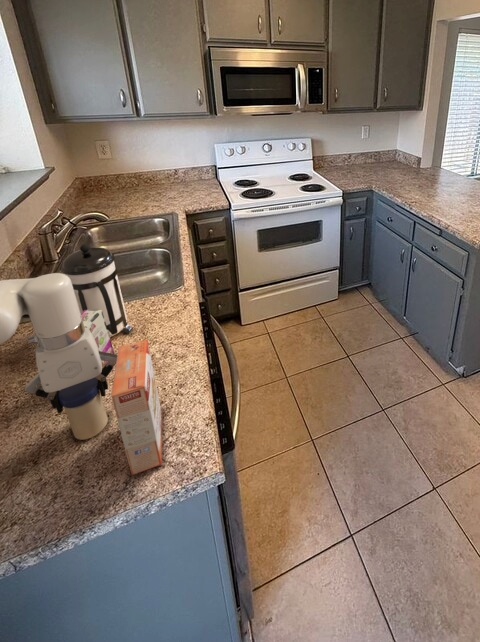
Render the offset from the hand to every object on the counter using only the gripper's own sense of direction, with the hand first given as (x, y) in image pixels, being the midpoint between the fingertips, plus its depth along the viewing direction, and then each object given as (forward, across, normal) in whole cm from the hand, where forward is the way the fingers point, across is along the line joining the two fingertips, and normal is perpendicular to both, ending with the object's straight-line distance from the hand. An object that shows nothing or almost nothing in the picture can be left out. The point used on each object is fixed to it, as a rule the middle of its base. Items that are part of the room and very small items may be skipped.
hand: (82, 399), depth 77 cm
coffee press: (+8, +5, +33) cm, 34 cm away
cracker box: (+8, +11, -11) cm, 17 cm away
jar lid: (-3, 0, 0) cm, 3 cm away
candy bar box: (+8, +1, +17) cm, 19 cm away
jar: (+8, 0, 0) cm, 8 cm away
